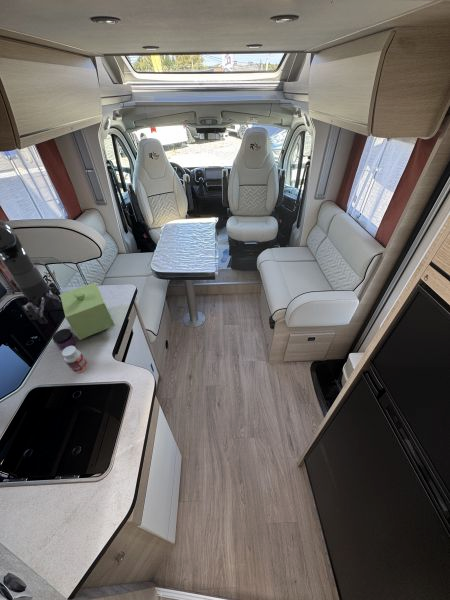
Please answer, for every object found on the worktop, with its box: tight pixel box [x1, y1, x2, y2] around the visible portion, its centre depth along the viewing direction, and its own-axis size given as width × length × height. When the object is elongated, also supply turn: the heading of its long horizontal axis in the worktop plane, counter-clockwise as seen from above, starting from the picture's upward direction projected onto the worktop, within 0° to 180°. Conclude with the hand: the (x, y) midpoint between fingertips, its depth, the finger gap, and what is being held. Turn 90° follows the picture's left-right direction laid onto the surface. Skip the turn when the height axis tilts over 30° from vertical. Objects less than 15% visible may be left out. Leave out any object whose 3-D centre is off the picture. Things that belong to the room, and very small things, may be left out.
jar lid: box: [52, 328, 73, 344], centre depth 115 cm, size 8×8×1 cm
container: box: [59, 282, 116, 341], centre depth 121 cm, size 19×16×20 cm
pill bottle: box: [61, 345, 88, 374], centre depth 105 cm, size 6×6×11 cm
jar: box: [53, 332, 78, 351], centre depth 117 cm, size 8×8×6 cm
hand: (52, 314), depth 95 cm, fingers open, 8 cm apart
